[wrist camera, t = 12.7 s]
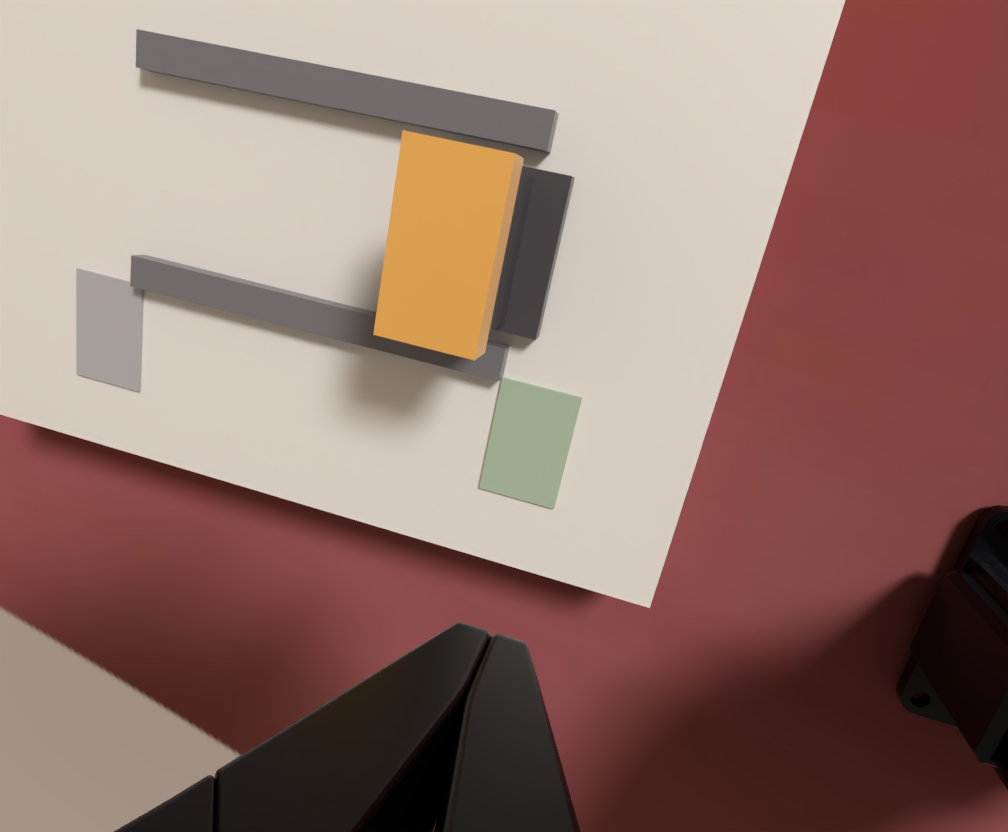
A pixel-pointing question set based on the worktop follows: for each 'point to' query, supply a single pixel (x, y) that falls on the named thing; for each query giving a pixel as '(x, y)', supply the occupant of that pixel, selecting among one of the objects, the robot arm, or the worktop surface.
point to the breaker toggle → (468, 246)
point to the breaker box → (362, 242)
